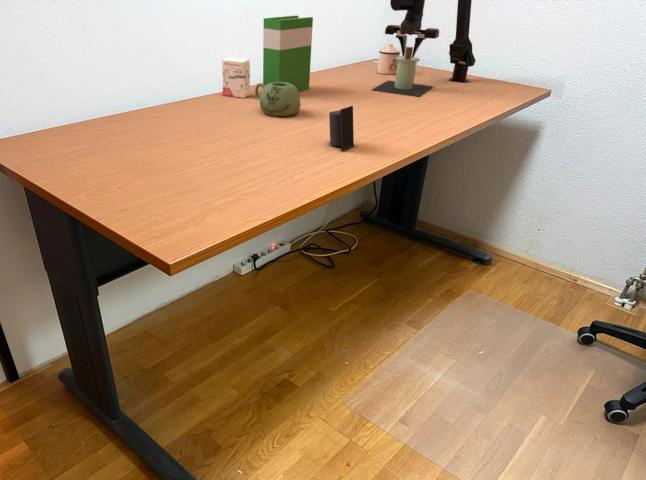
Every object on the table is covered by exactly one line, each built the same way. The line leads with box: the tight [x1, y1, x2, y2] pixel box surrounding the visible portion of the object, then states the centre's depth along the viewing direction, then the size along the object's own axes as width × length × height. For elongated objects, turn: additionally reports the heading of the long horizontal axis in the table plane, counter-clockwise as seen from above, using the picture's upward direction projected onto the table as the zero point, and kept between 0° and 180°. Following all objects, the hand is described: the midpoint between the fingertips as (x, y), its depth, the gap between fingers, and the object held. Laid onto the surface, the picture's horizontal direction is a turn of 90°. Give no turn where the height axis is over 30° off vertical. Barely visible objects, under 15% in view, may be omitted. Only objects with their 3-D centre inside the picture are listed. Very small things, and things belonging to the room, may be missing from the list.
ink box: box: [221, 56, 251, 99], centre depth 173 cm, size 9×5×12 cm, turn 68°
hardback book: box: [262, 15, 314, 92], centre depth 178 cm, size 18×7×24 cm, turn 140°
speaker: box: [328, 105, 355, 152], centre depth 130 cm, size 8×6×10 cm
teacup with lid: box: [376, 43, 401, 76], centre depth 217 cm, size 12×9×12 cm
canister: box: [394, 60, 418, 90], centre depth 191 cm, size 7×7×10 cm
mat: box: [371, 80, 433, 98], centre depth 193 cm, size 20×18×1 cm
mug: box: [254, 82, 301, 117], centre depth 156 cm, size 16×13×9 cm
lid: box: [396, 46, 420, 63], centre depth 187 cm, size 9×9×4 cm
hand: (408, 56), depth 188 cm, fingers open, 3 cm apart
